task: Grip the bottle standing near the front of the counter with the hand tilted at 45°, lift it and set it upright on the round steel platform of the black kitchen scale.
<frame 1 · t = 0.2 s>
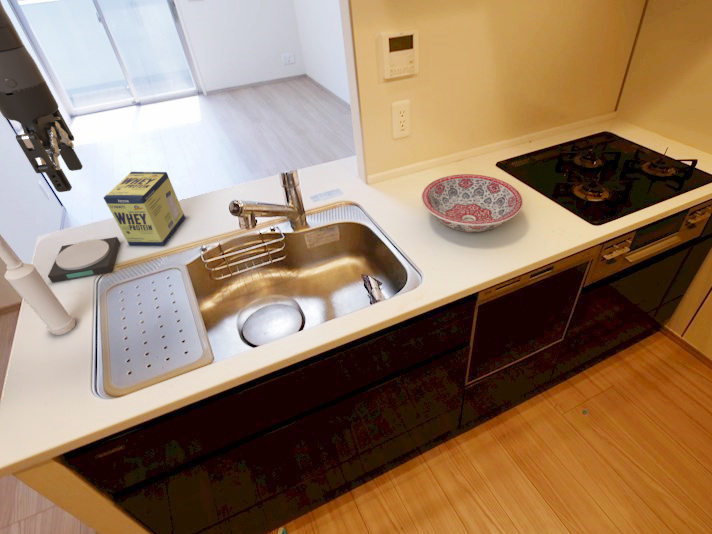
hand: (71, 179, 76), 35 cm above the worktop, tool pointing down, fingers open, 8 cm apart
bottle: (64, 328, 98), on the worktop
ceramic bowl: (468, 221, 129), on the worktop
protein box: (159, 232, 127), on the worktop
scale: (88, 261, 116), on the worktop
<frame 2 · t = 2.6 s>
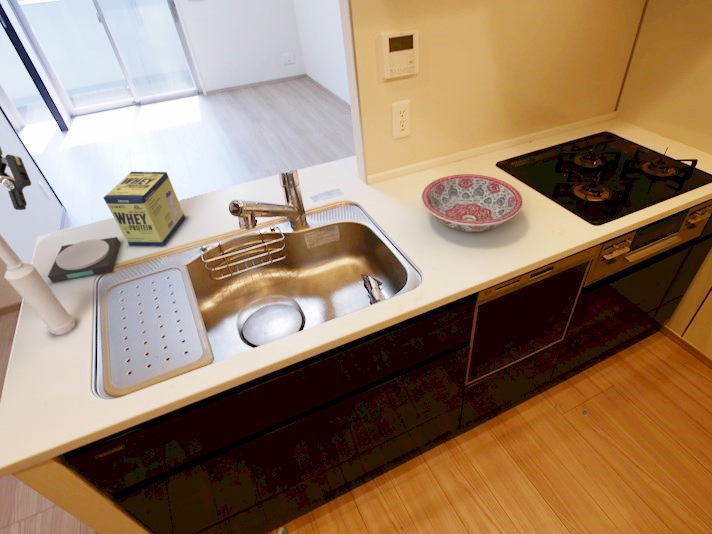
nothing on the worktop moved.
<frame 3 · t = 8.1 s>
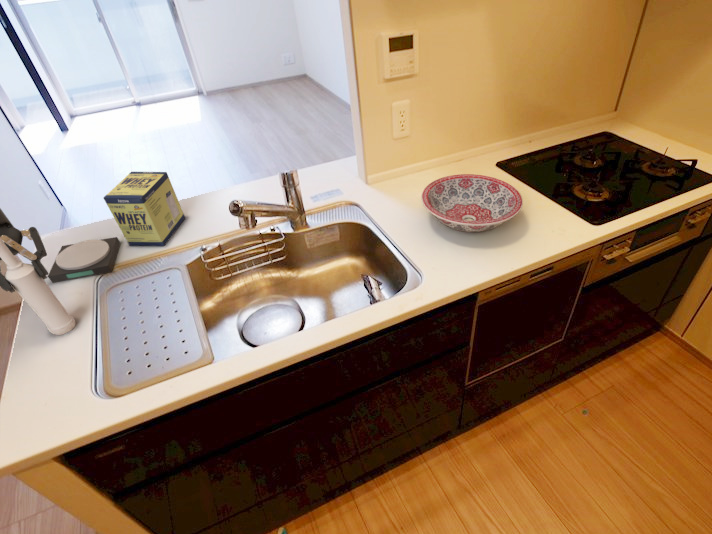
hand: (28, 284, 87), 14 cm above the worktop, tool tilted 45°, fingers closed on bottle, 5 cm apart
bottle: (64, 328, 98), on the worktop, touching gripper
everything else where it was.
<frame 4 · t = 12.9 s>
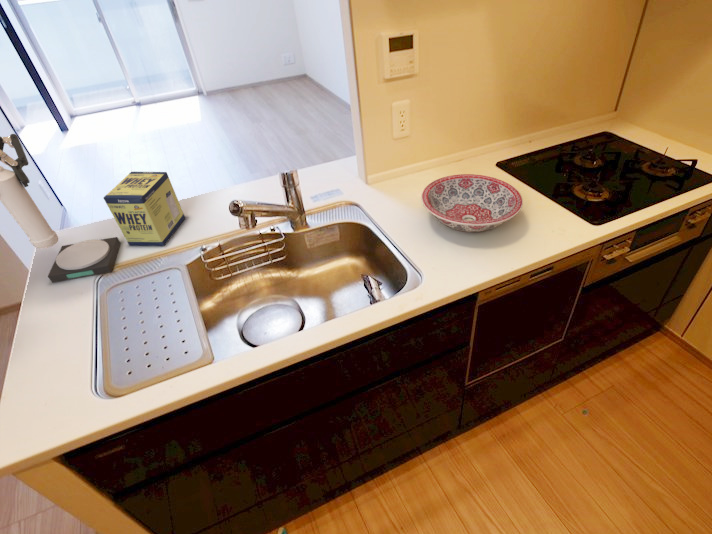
hand: (9, 189, 88), 28 cm above the worktop, tool tilted 45°, fingers closed on bottle, 5 cm apart
bottle: (47, 243, 99), point 14 cm above the worktop, touching gripper
everything else where it was.
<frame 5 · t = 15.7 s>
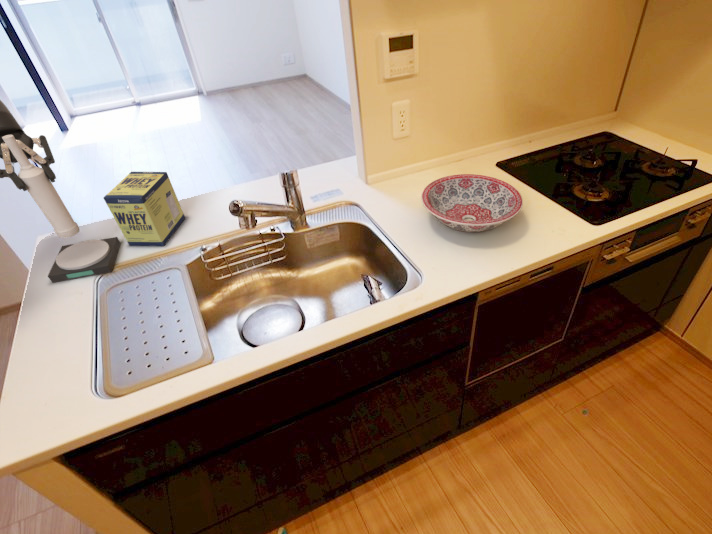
hand: (39, 184, 99), 24 cm above the worktop, tool tilted 45°, fingers closed on bottle, 5 cm apart
bottle: (69, 233, 110), point 9 cm above the worktop, touching gripper
everything else where it was.
when the fingers open (17 cm above the worktop, at t = 18.0 s): bottle stays where it is, resting on scale.
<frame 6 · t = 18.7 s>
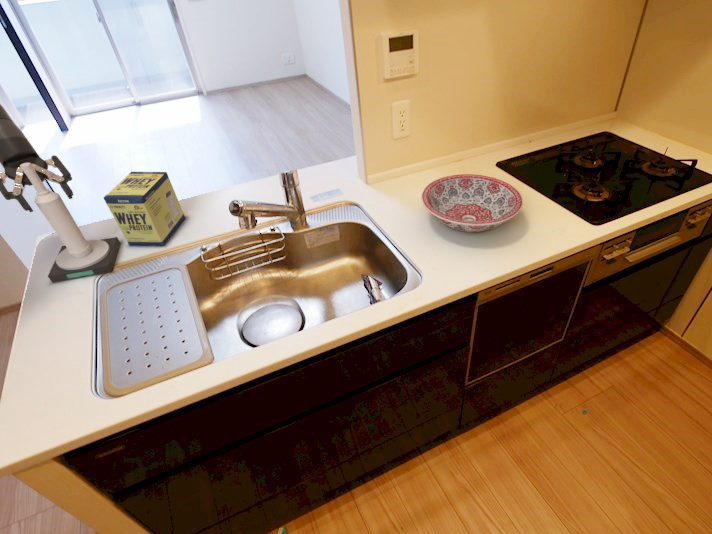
hand: (51, 203, 103), 18 cm above the worktop, tool tilted 45°, fingers open, 8 cm apart
bottle: (82, 253, 114), point 3 cm above the worktop, touching scale
everything else where it was.
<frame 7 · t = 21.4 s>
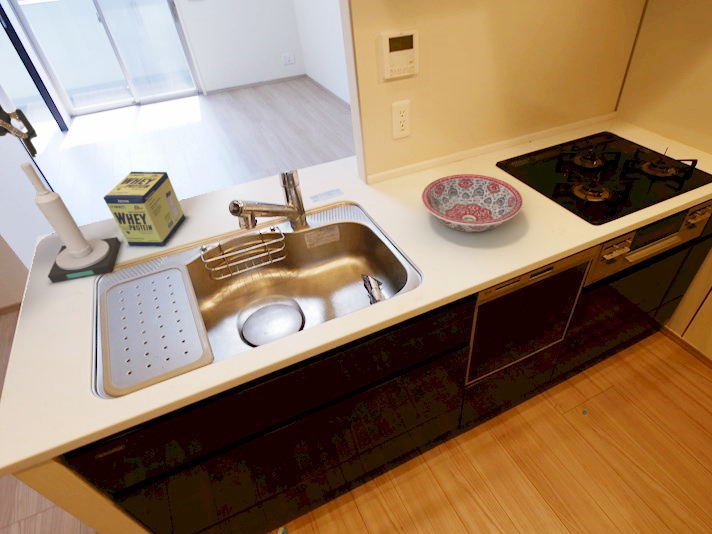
hand: (12, 161, 99), 28 cm above the worktop, tool tilted 35°, fingers open, 8 cm apart
nothing on the worktop moved.
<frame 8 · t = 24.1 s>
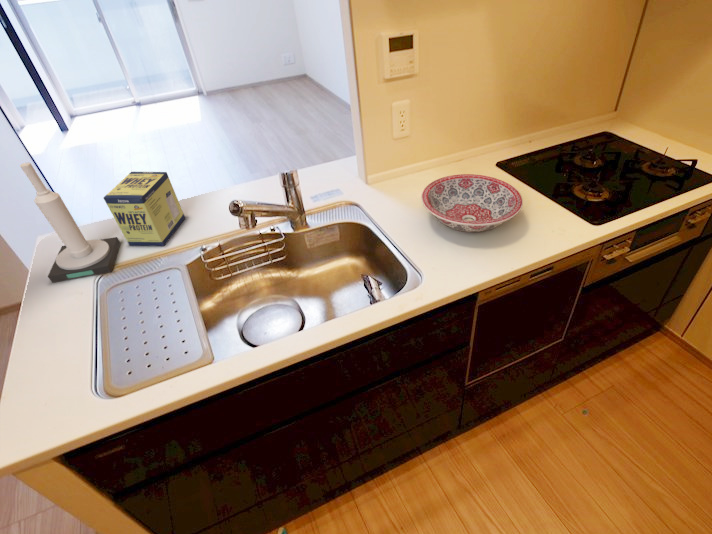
nothing on the worktop moved.
at the end: bottle inside the target area on the scale (0.1 cm from its centre), point 2.8 cm above the scale's base; bottle tilted 0°; the gripper is holding nothing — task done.
